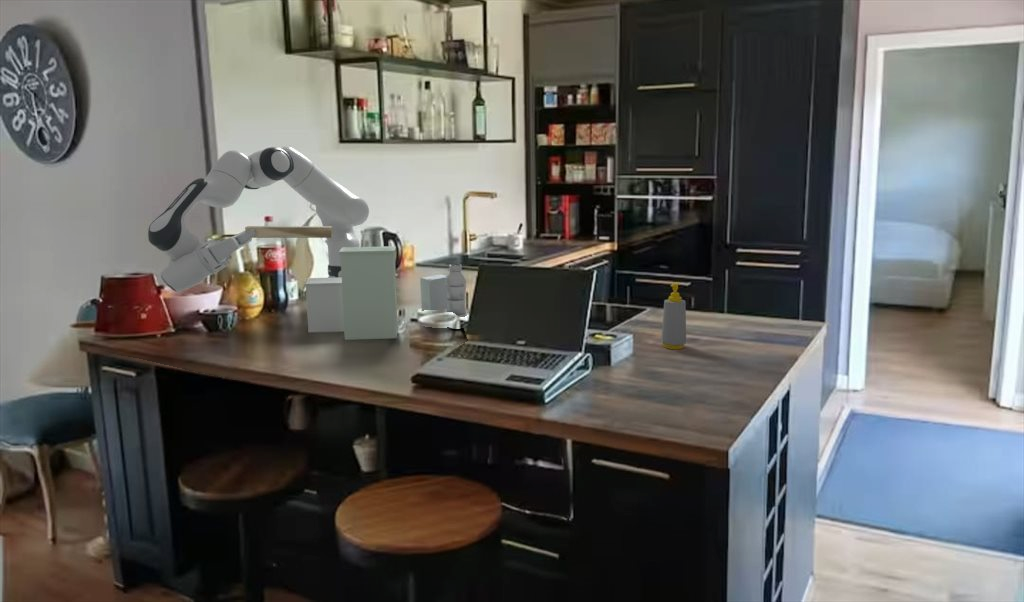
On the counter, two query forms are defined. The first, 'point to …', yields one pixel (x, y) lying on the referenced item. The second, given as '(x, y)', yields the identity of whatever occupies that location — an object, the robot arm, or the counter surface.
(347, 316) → the stand
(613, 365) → the counter surface
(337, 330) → the grey box
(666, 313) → the soap bottle
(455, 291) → the plastic bottle
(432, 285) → the skincare box
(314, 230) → the rail
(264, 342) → the counter surface
